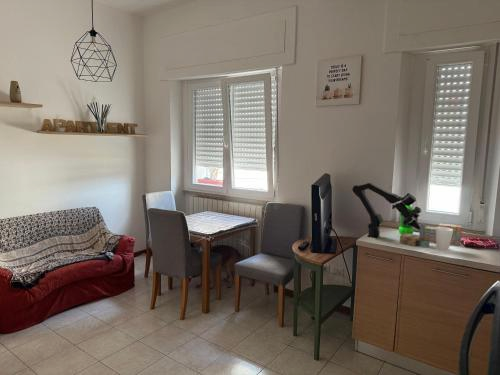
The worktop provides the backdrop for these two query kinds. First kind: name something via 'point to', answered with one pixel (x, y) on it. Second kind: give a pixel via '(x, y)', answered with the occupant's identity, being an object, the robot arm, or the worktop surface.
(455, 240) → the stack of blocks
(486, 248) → the worktop surface
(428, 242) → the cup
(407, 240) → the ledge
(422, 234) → the pusher
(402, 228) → the plastic bottle
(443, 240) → the foam cup
